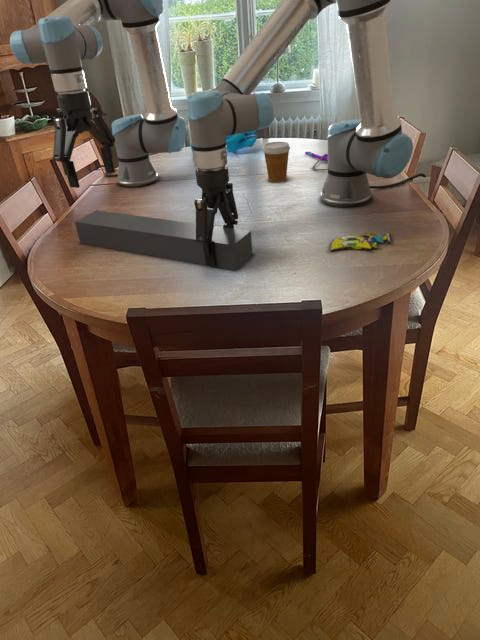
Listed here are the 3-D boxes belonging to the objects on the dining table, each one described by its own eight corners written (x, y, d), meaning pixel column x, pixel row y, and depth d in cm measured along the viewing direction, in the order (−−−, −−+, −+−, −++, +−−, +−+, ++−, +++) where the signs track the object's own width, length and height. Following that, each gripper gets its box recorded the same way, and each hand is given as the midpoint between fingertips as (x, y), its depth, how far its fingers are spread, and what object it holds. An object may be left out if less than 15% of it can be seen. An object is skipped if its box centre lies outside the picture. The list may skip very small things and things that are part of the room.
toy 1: (195, 134, 218) (257, 114, 208) (203, 157, 223) (264, 139, 213) (184, 143, 204) (250, 123, 194) (193, 168, 209) (257, 149, 199)
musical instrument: (342, 175, 173) (362, 153, 185) (341, 169, 172) (361, 148, 184) (283, 174, 186) (305, 153, 198) (282, 169, 184) (305, 148, 196)
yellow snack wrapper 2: (393, 247, 116) (330, 248, 119) (393, 250, 117) (330, 251, 119) (388, 230, 125) (329, 232, 127) (387, 233, 125) (329, 235, 127)
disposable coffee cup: (260, 182, 170) (258, 147, 164) (269, 174, 177) (267, 141, 171) (286, 183, 167) (285, 148, 160) (294, 175, 174) (293, 141, 168)
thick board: (80, 243, 137) (74, 221, 133) (101, 231, 143) (96, 210, 140) (235, 270, 115) (233, 245, 111) (252, 254, 121) (250, 230, 118)
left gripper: (43, 101, 105) (69, 195, 117) (117, 83, 123) (133, 166, 135) (20, 101, 109) (47, 192, 120) (95, 84, 127) (113, 165, 138)
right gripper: (199, 182, 99) (211, 278, 111) (248, 155, 115) (253, 241, 127) (170, 180, 102) (185, 273, 114) (221, 153, 118) (229, 238, 130)
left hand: (93, 179), depth 128 cm, fingers open, 13 cm apart
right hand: (221, 257), depth 121 cm, fingers closed on thick board, 9 cm apart
